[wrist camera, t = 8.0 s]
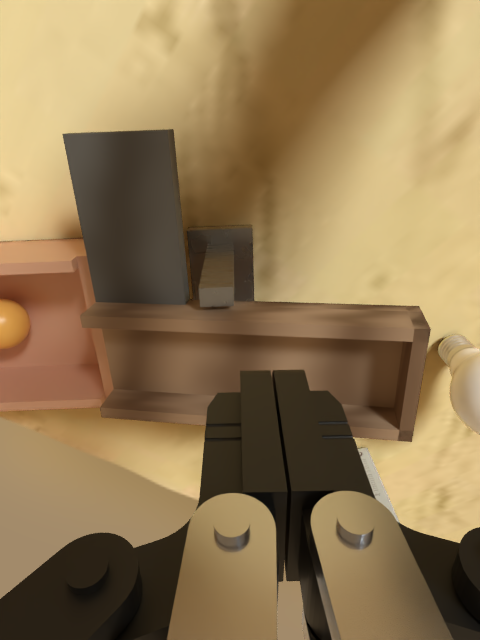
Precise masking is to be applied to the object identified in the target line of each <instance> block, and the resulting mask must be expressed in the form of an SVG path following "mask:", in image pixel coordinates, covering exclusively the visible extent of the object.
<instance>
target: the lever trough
mask: <svg viewBox="0 0 480 640" xmlns="http://www.w3.org/2000/svg"><path fill="white" fill-rule="evenodd" d="M63 139H64V144H65V149H66V154H67V159H68V164H69V169H70V174H71V179H72V184H73V189H74V194H75V199H76V205H77V210H78V215H79V220H80V225H81V230H82V235H83V240H84V245H85V250H86V255H87V260H88V265H89V270H90V275H91V280H92V286H93V291H94V296H95V301H96V302H95V303H94V304H93V305H92V306H91V307H90V308H88V309H87V310H86V311H85V312H84V313H83V314H81V315H80V319H81V324H82V328H101V329H102V332H103V337H104V342H105V347H106V352H107V358H108V363H109V368H110V373H111V378H112V383H113V388H114V389H113V391H112V392H111V393H110V395H109V396H108V397H107V399H106V400H105V401H104V403H103V404H102V405H101V407H100V411H101V416H102V417H104V418H117V419H129V420H142V421H155V422H167V423H180V424H193V425H205V426H206V418H207V407H208V406H209V404H210V403H211V401H212V400H213V399H214V397H215V396H216V394H217V393H226V392H240V371H252V370H271V375H272V372H273V370H299V369H304V371H305V374H306V378H307V382H308V385H309V389H310V391H325V390H328V391H329V392H330V393H331V394H332V395H333V396H334V397H335V398H336V399H337V400H338V401H339V402H340V403H341V404H342V407H343V409H344V412H345V415H346V418H347V421H348V424H349V426H350V429H351V432H352V435H353V437H357V438H370V439H382V440H395V441H408V442H412V436H413V431H414V425H415V419H416V413H417V407H418V401H419V395H420V389H421V383H422V377H423V371H424V365H425V359H426V353H427V348H428V342H429V336H430V330H431V329H430V327H429V325H428V323H427V321H426V319H425V317H424V315H423V313H422V311H421V309H420V307H419V306H393V305H360V304H326V303H292V302H259V301H234V306H220V307H200V300H192V299H190V297H189V287H188V277H187V266H186V256H185V245H184V235H183V224H182V214H181V204H180V193H179V183H178V172H177V162H176V151H175V141H174V131H173V129H169V130H143V131H116V132H90V133H68V134H63Z"/></svg>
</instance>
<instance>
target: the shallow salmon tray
mask: <svg viewBox="0 0 480 640" xmlns="http://www.w3.org/2000/svg"><path fill="white" fill-rule="evenodd" d="M0 299H8V300H12V301H15V302H17V303H19V304H20V305H21V306H23V307H24V308H25V310H26V311H27V313H28V315H29V317H30V323H31V325H30V330H29V333H28V335H27V337H26V338H25V339H24V340H23V341H22V342H21V343H20V344H18V345H16V346H14V347H11V348H7V349H0V411H22V410H47V409H72V408H98V407H101V405H102V404H103V403H104V401H105V400H106V399H107V397H108V396H109V395H110V393H111V392H112V391H113V389H114V388H113V383H112V378H111V373H110V368H109V363H108V358H107V352H106V347H105V342H104V337H103V332H102V329H101V328H82V324H81V319H80V315H81V314H83V313H84V312H85V311H86V310H87V309H88V308H90V307H91V306H92V305H93V304H94V303H95V302H96V301H95V296H94V291H93V286H92V280H91V275H90V270H89V265H88V260H87V255H86V250H85V245H84V240H83V238H75V239H51V240H27V241H3V242H0Z"/></svg>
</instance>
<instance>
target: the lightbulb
mask: <svg viewBox="0 0 480 640" xmlns="http://www.w3.org/2000/svg"><path fill="white" fill-rule="evenodd" d="M438 354H439V356H440V357H441V359H442V360H443V361H444V362H445V363H446V364H447V366H448V367H449V369H450V374H451V376H452V380H451V383H450V400H451V404H452V407H453V409H454V411H455V413H456V415H457V416H458V418H459V419H460V420H461V421H462V422H463V423H464V424H465V425H466V426H467V427H468V428H469V429H471V430H472V431H474V432H476V433H477V434H479V435H480V349H478V348H476V347H474V345H472V344H471V343H470V342H469V341H468V340H467V339H466V338H465V337H464V336H462V335H451V336H448V337H446V338H445V339H444V340H443V341H442V342H441V343H440V345H439V347H438Z"/></svg>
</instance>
